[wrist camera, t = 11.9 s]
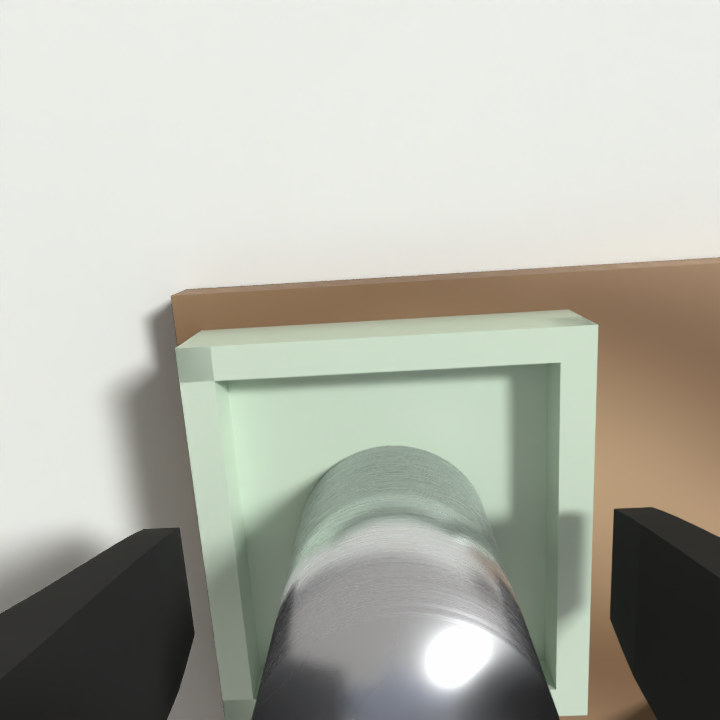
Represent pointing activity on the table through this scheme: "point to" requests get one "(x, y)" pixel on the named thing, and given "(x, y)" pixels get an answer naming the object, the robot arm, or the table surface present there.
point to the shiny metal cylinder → (399, 603)
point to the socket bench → (613, 396)
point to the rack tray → (396, 428)
